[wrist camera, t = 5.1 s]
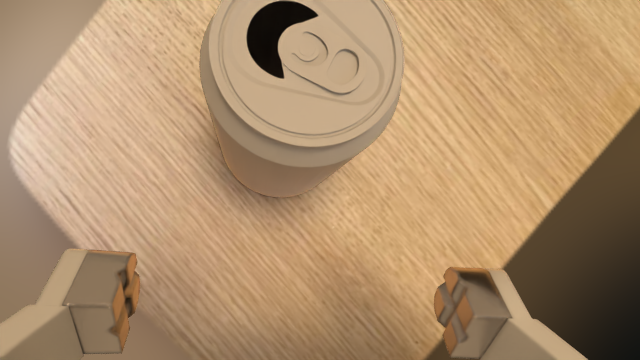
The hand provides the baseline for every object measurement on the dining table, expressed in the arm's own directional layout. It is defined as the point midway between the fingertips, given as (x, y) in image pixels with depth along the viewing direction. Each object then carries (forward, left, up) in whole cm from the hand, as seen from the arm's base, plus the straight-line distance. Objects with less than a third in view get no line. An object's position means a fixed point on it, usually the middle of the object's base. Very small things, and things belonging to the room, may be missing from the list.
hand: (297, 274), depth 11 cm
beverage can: (0, +6, -12) cm, 14 cm away
